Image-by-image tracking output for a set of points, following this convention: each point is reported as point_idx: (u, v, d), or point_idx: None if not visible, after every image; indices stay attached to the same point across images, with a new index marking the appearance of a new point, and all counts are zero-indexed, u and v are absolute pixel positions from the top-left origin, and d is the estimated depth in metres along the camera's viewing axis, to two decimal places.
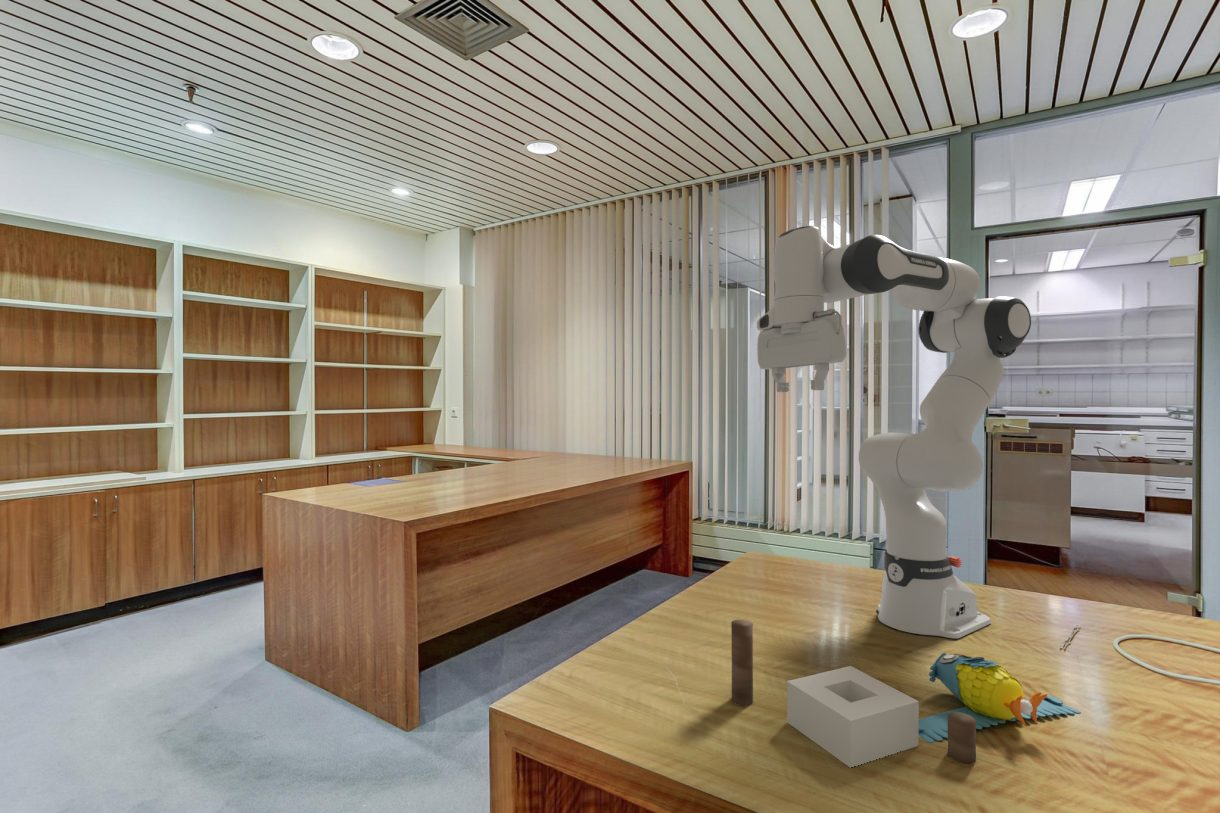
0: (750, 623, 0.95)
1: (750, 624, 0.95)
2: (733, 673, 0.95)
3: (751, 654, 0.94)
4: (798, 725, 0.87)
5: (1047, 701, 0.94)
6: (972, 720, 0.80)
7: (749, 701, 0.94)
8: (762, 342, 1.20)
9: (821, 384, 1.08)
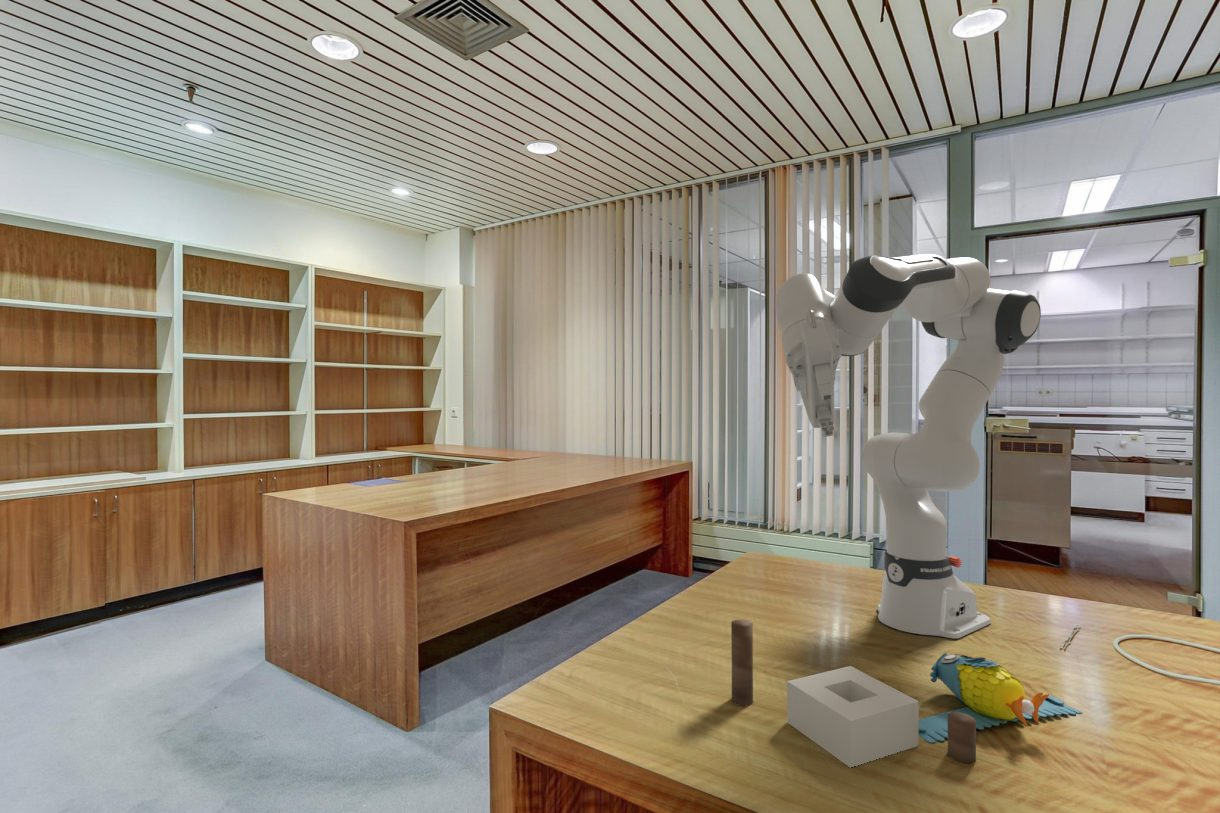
0: (750, 623, 0.95)
1: (750, 624, 0.95)
2: (733, 673, 0.95)
3: (751, 654, 0.94)
4: (798, 725, 0.87)
5: (1048, 701, 0.94)
6: (972, 720, 0.80)
7: (749, 701, 0.94)
8: (805, 400, 1.06)
9: (828, 387, 0.90)
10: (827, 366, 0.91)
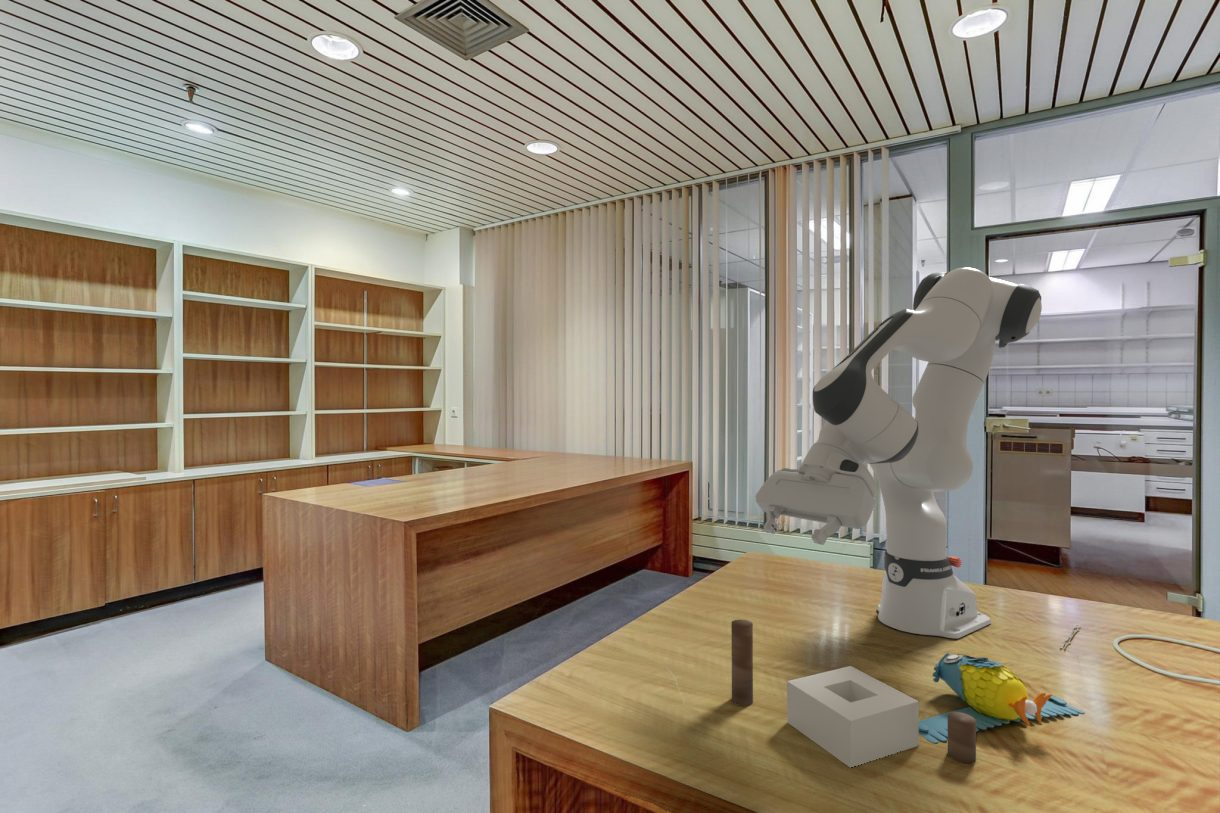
0: (750, 623, 0.95)
1: (750, 624, 0.95)
2: (733, 673, 0.95)
3: (751, 654, 0.94)
4: (798, 725, 0.87)
5: (1051, 701, 0.94)
6: (972, 720, 0.80)
7: (749, 701, 0.94)
8: None
9: None
10: None
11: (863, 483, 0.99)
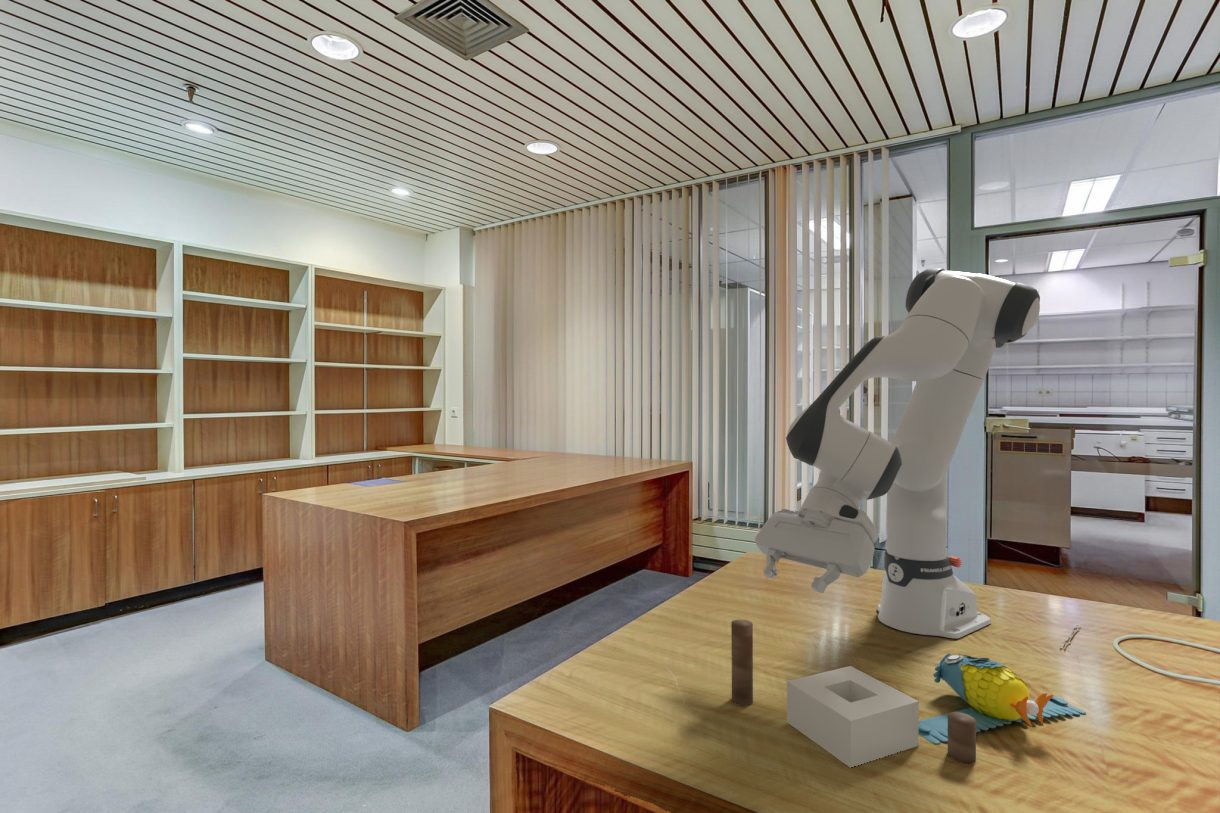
0: (750, 623, 0.95)
1: (750, 624, 0.95)
2: (733, 673, 0.95)
3: (751, 654, 0.94)
4: (798, 725, 0.87)
5: (1052, 702, 0.94)
6: (972, 720, 0.80)
7: (749, 701, 0.94)
8: None
9: None
10: None
11: (863, 531, 0.98)
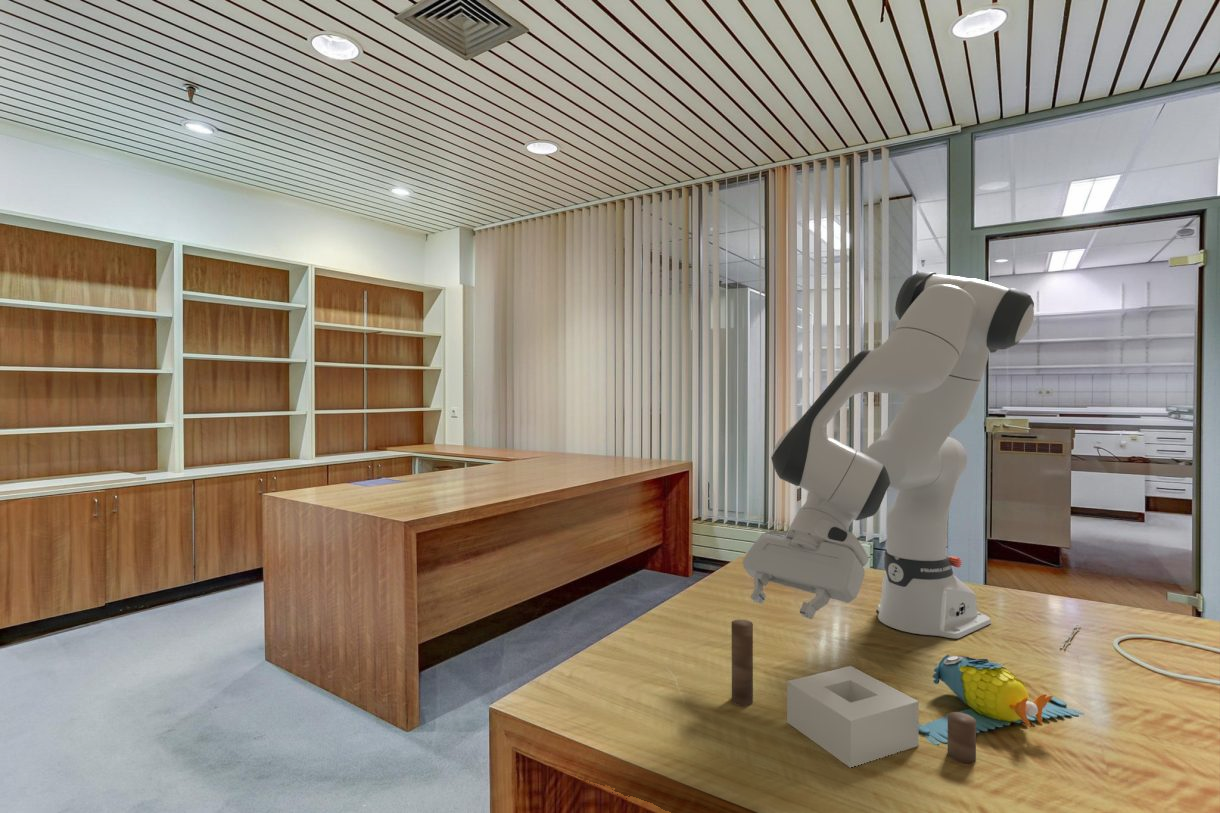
0: (750, 623, 0.95)
1: (750, 624, 0.95)
2: (733, 673, 0.95)
3: (751, 654, 0.94)
4: (798, 725, 0.87)
5: (1051, 703, 0.94)
6: (972, 720, 0.80)
7: (749, 701, 0.94)
8: None
9: None
10: (756, 575, 1.05)
11: (852, 554, 0.95)
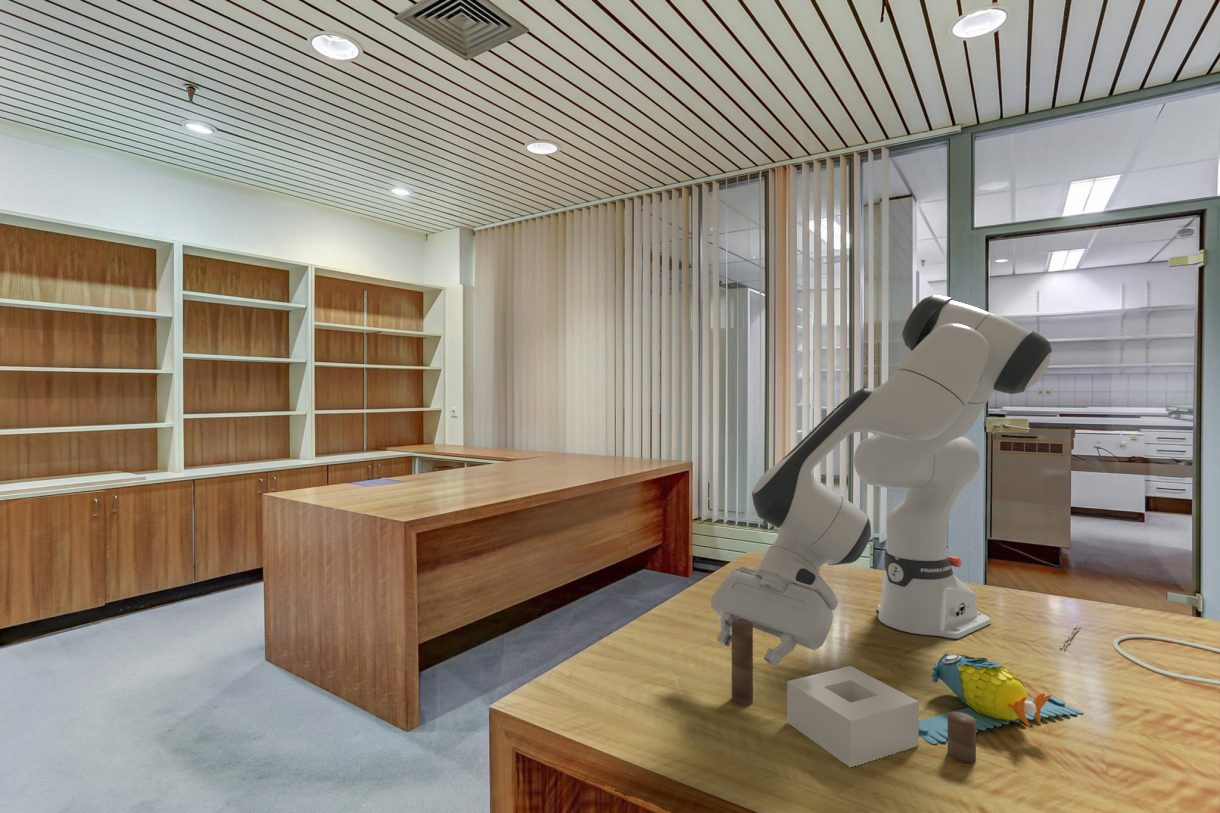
0: (750, 623, 0.95)
1: (750, 624, 0.95)
2: (733, 673, 0.95)
3: (751, 654, 0.94)
4: (798, 725, 0.87)
5: (1049, 702, 0.94)
6: (972, 720, 0.80)
7: (749, 701, 0.94)
8: None
9: None
10: None
11: (819, 599, 0.91)
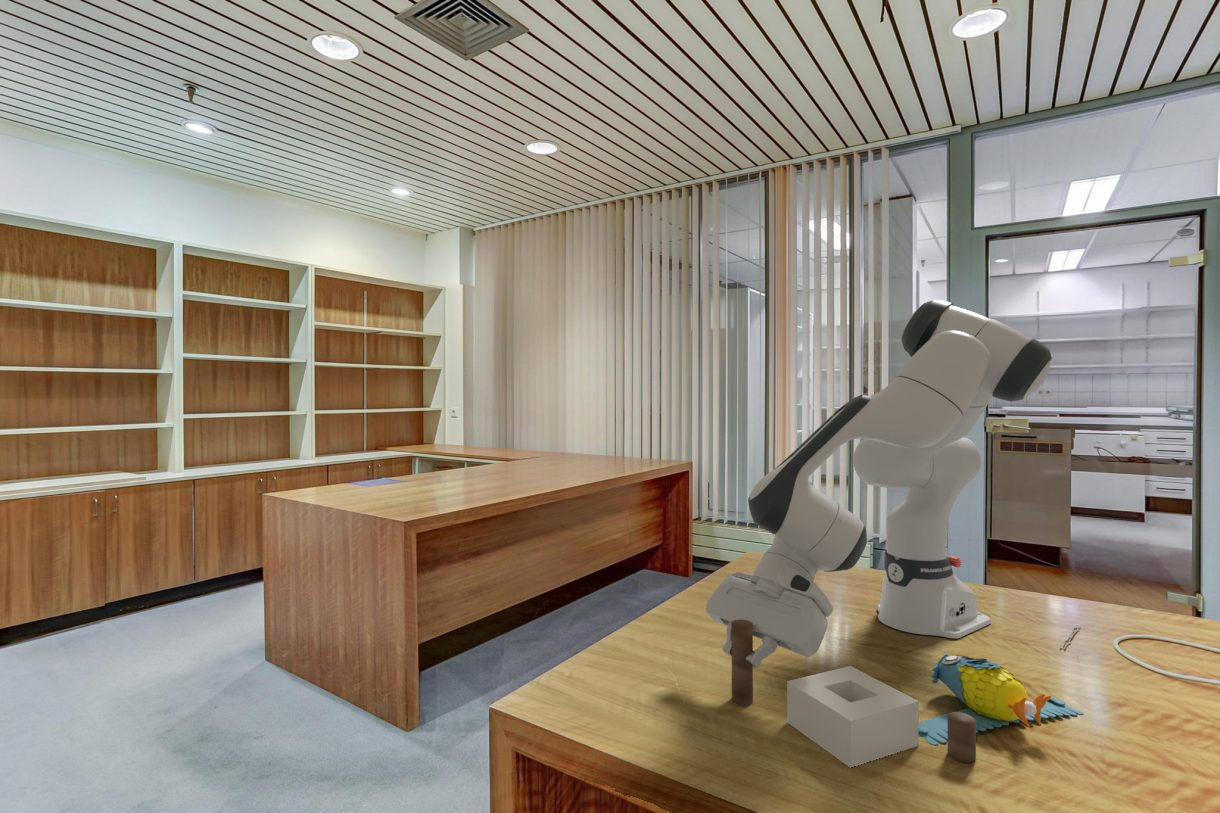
0: (750, 623, 0.95)
1: (750, 624, 0.95)
2: (733, 673, 0.95)
3: None
4: (798, 725, 0.87)
5: (1049, 702, 0.94)
6: (972, 720, 0.80)
7: (749, 701, 0.94)
8: None
9: None
10: (729, 625, 1.00)
11: (813, 606, 0.91)
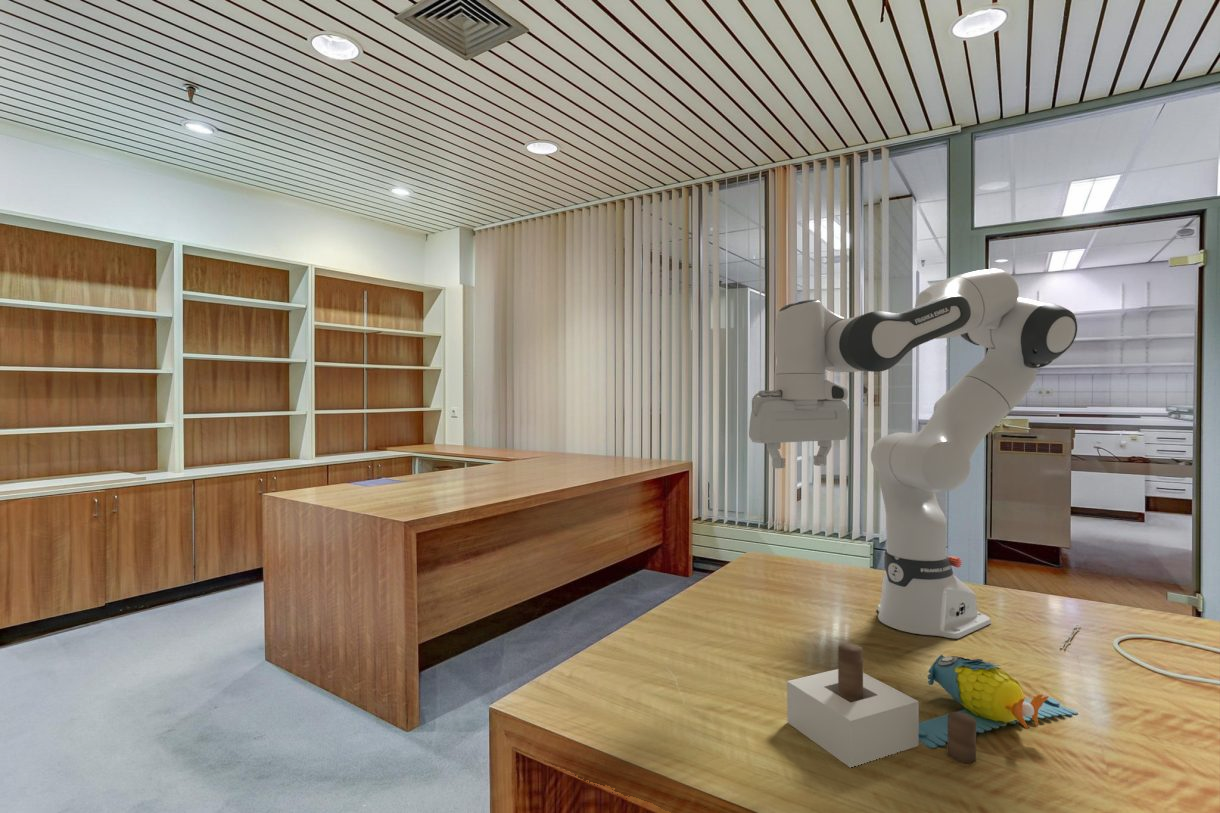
0: (858, 647, 0.86)
1: (860, 648, 0.85)
2: None
3: (862, 681, 0.85)
4: (798, 725, 0.87)
5: (1044, 702, 0.94)
6: (972, 720, 0.80)
7: None
8: None
9: (776, 462, 1.10)
10: (773, 445, 1.09)
11: None
